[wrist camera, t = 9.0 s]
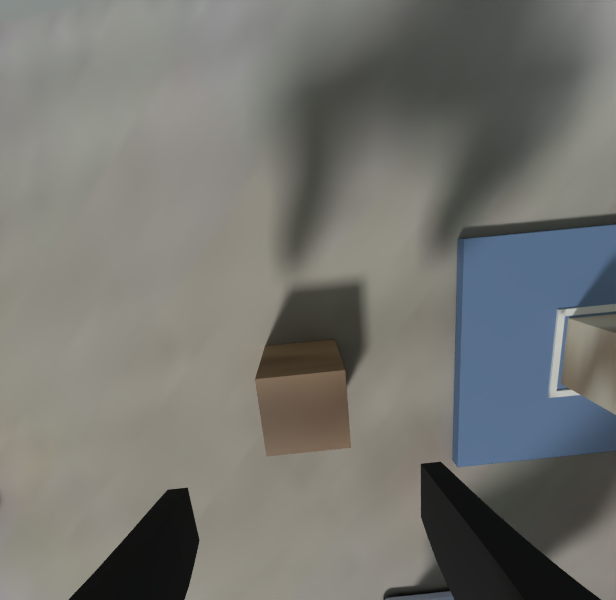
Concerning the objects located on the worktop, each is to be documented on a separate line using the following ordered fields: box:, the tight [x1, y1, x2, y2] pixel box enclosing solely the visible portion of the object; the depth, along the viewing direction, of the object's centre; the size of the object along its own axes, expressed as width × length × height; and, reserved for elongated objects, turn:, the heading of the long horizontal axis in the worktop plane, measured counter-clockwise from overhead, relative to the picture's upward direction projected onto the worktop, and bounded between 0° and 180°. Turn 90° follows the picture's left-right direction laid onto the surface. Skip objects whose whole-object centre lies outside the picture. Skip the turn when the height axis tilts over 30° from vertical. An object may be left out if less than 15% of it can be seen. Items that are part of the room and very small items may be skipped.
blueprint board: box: [453, 224, 616, 467], centre depth 17 cm, size 14×16×1 cm
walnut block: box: [255, 339, 351, 456], centre depth 15 cm, size 4×4×4 cm
